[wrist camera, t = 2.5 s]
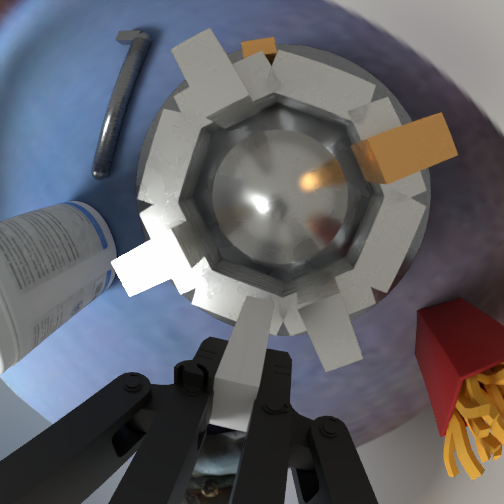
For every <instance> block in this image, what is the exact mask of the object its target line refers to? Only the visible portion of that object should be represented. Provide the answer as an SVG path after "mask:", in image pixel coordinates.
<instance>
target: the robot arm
mask: <svg viewBox="0 0 504 504" xmlns="http://www.w3.org/2000/svg"><path fill="white" fill-rule="evenodd" d="M274 302H275V301H271V300H266V299H261V298H257V297H252V296H246V299H245V301H244V304H243V306H242V309H241V311H240V314H239V317H238V319H237V322H236V324H235V327H234V329H233V332H232V334H231V337H230V340H229V341H227V340H223V339H218V338H214V337H209V338H207V339H206V340H204V341H203V342H202V343H201V345H200V347H199V349H198V351H197V353H196V355H195V356H194V358H193V360H186V361H182V362H180V363H178V364H177V365H176V366H175V367H174V384H170V385H157V384H151V383H150V381H149V379H148V378H147V377H145V376H144V375H142V374H140V373H134V372H129V373H124V374H122V375H120V376H118V377H117V378H116V379H114V380H113V381H112V382H110V383H109V384H108V385H106V386H105V387H104V388H102V389H101V390H100V391H98V392H97V393H95V394H94V395H93V396H91V397H90V398H89V399H87V400H86V401H85V402H83V403H82V404H80V405H79V406H78V407H76V408H75V409H74V410H72V411H71V412H69V413H68V414H67V415H65V416H64V417H62V418H61V419H60V420H58V421H57V422H56V423H54V424H53V425H51V426H50V427H49V428H47V429H46V430H44V431H43V432H42V433H40V434H39V435H37V436H36V437H35V438H33V439H32V440H30V441H29V442H27V443H26V444H24V445H23V446H22V447H20V448H19V449H17V450H16V451H14V452H13V453H11V454H10V455H9V456H7V457H6V458H4V459H3V460H1V461H0V504H81V503H82V502H83V501H84V500H85V499H87V498H88V497H89V496H90V495H91V494H92V493H93V492H94V491H95V490H96V489H98V488H99V486H101V485H102V484H103V483H104V482H105V481H106V480H107V479H108V478H109V477H110V476H111V475H112V474H113V473H114V472H116V471H117V470H118V469H119V468H120V467H121V466H122V465H123V464H124V463H125V462H126V461H127V460H128V459H129V458H130V457H131V456H132V455H133V454H134V453H135V452H136V451H137V452H136V454H135V456H134V458H133V459H132V461H131V463H130V465H129V467H128V469H127V471H126V472H125V474H124V476H123V478H122V480H121V481H120V483H119V485H118V487H117V489H116V491H115V492H114V494H113V496H112V498H111V500H110V502H109V503H108V504H181V503H182V500H183V497H184V495H185V492H186V489H187V486H188V484H189V481H190V478H191V475H192V473H193V470H194V467H195V464H196V462H197V459H198V456H199V453H200V450H201V448H202V445H203V442H204V439H205V436H206V432H207V426H208V423H209V420H210V424H214V425H217V426H222V427H226V428H230V429H234V430H239V431H244V432H246V436H245V439H244V443H243V446H242V450H241V456H240V460H239V464H238V468H237V472H236V476H235V481H234V485H233V489H232V493H231V496H230V500H229V504H284V500H285V491H286V481H287V471H288V465H290V466H291V471H292V475H293V480H294V484H295V488H296V493H297V497H298V501H299V504H378V502H377V499H376V497H375V494H374V492H373V489H372V487H371V484H370V482H369V480H368V477H367V475H366V472H365V470H364V467H363V465H362V462H361V460H360V458H359V455H358V453H357V450H356V448H355V446H354V443H353V441H352V438H351V436H350V434H349V431H348V429H347V427H346V426H345V424H344V423H343V422H342V421H341V420H339V419H338V418H335V417H332V416H322V417H318V418H317V419H315V420H311V419H309V418H306V417H304V416H302V415H300V414H298V413H297V412H296V411H295V410H294V409H293V408H292V406H291V404H290V389H291V371H292V370H291V369H292V359H291V357H290V356H289V354H288V352H283V351H278V350H272V349H267V343H268V337H269V331H270V325H271V320H272V314H273V308H274Z"/></svg>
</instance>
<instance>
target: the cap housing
mask: <svg viewBox="0 0 504 504" xmlns="http://www.w3.org/2000/svg"><path fill="white" fill-rule="evenodd" d="M241 44H242V50H239V51H236V52H232V53H230V54H227V55H228V57H229V58H230V60H231V62H232V63H233V64H234V63H236V62H238V61H240V60H242V59H244V58H246V57H249V56H251V55H253V54H255V53H258V52H260V51H262V52H263V53H264V55H265V57H266V58H267V60H268V61H269V63H270V65H271V66H272V64H273V62H274V59H275V57H276V55H277V52H278V50H281V51H285V52H289V53H292V54H295V55H299V56H302V57H305V58H308V59H311V60H314V61H317V62H320V63H323V64H326V65H328V66H331V67H334V68H336V69H339V70H342V71H344V72H347V73H349V74H352V75H354V76H356V77H359V78H361V79H363V80H365V81H368V82H370V83H372V84H374V85H376V86H375V90H374V93H373V96H372V99H371V102H374V101H377V100H380V99H383V98H386V97H388V98H389V100H390V102H391V104H392V106H393V108H394V110H395V112H396V114H397V116H398V118H399V120H400V123H401V125H405V124H408V123H411V122H412V120H411V118H410V116H409V115H408V113H407V112H406V110H405V109H404V108H403V106H402V105H401V103H400V102H399V101H398V99H397V98H396V97H395V96H394V95H393V94H392V93H391V92H390V91H389V89H388V88H387V87H386V86H385V85H384V84H382V83H381V82H380V81H379V80H378V79H376V78H375V77H374V76H373V75H372V74H370V73H369V72H367V71H366V70H364V69H363V68H361V67H360V66H358V65H356V64H355V63H353V62H351V61H349V60H347V59H345V58H342V57H340V56H338V55H336V54H333V53H330V52H327V51H324V50H320V49H316V48H313V47H306V46H299V45H289V44H275V40H274V37H271V38H264V39H257V40H251V41H245V42H241ZM188 87H190V86H189V84H188V83H187V81H186V80H185V81H184V82H182V83H181V84H180V85H179V86H178V87H177V88H176V89H175V91H174V92H173V93H172V94H171V95H170V96H169V97H168V98H167V100H166V101H165V103H164V104H163V105H162V107H161V108H160V110H159V111H158V112H157V114H156V116H155V118H154V120H153V122H152V124H151V126H150V127H149V129H148V132H147V135H146V137H145V140H144V143H143V146H142V149H141V153H140V158H139V162H138V168H137V179H136V196H137V198H138V194H139V190H140V186H141V182H142V178H143V174H144V171H145V167H146V163H147V160H148V156H149V153H150V149H151V146H152V143H153V139H154V136H155V133H156V130H157V127H158V124H159V121H160V118H161V115H162V112H163V109H167V110H172V111H177V112H181V111H180V109H179V107H178V105H177V103H176V101H175V99H174V97H173V96H175V95H177V94H178V93H180V92H182V91H183V90H185V89H187V88H188ZM371 102H370V103H371ZM351 145H352V144H351V141H350V139H349V137H348V135H347V133H346V131H345V129H344V128H343V127H340V126H338V125H335V124H333V123H331V122H328V121H326V120H323V119H320V118H318V117H315V116H312V115H310V114H307V113H304V112H301V111H299V110H296V109H293V108H290V107H287V106H284V105H281V104H278V103H275V104H273V105H271V106H269V107H267V108H264V109H262V110H260V111H259V113H257V114H255V115H252V116H250V117H248V118H246V119H244V120H242V121H240V122H238V123H236V124H234V125H232V126H230V127H228V128H226V129H224V128H223V129H222V130H220V131H218V132H216V133H214V134H213V137H212V140H211V143H210V146H209V149H208V152H207V155H206V158H205V161H204V164H203V167H202V170H201V173H200V176H199V179H198V183H197V186H196V189H195V192H194V196H193V200H194V202H195V204H196V206H197V208H198V210H199V212H200V214H201V216H202V218H203V220H204V222H205V224H206V226H207V228H208V230H209V232H210V234H211V236H212V238H213V240H214V242H215V244H216V246H217V248H218V250H219V252H220V254H221V256H222V258H225V259H228V260H230V261H233V262H235V263H238V264H241V265H243V266H246V267H249V268H251V269H254V270H256V271H259V272H262V273H264V274H267V275H270V276H272V277H275V278H278V279H280V280H283V281H286V280H288V279H291V278H294V277H296V276H299V275H301V274H303V273H306V272H308V271H311V270H313V269H316V268H318V267H321V266H323V265H326V264H328V263H330V262H333V261H335V260H338V259H340V258H342V257H345V256H346V255H347V253H348V250H349V248H350V246H351V244H352V241H353V239H354V237H355V234H356V232H357V230H358V227H359V225H360V223H361V220H362V218H363V215H364V213H365V210H366V208H367V205H368V203H369V200H370V198H371V195H372V191H371V188H370V186H369V183H368V182H367V181H365V178H364V176H363V173H362V171H361V169H360V166H359V164H358V162H357V159H356V157H355V155H354V153H353V150H352V148H351ZM420 172H421V175H422V178H423V181H424V184H425V187H426V190H427V191H424V192H422V193H420V194H417V195H415V196H413V197H411V198H412V199H414V200H415V201H417V202H419V203H421V204H423V205H425V206H426V208H425V211H424V213H423V216H422V218H421V221H420V223H419V226H418V228H417V231H416V233H415V235H414V238H413V240H412V242H411V245H410V247H409V249H408V251H407V253H406V256H405V258H404V260H403V262H402V264H401V266H400V268H399V270H398V272H397V274H396V276H395V278H394V280H393V282H392V284H391V286H390V288H389V290H388V292H387V293H385V292H382V291H380V290H377V289H375V288H372V287H371V289H372V293H373V296H374V299H375V302H376V304H377V303H379V302H380V301H381V300H382V299H383V298H385V297H386V296H387V295H388V294H389V293H390V291H391V290H392V289H393V288H394V287H395V286H396V285H397V284H398V283H399V281H400V280H401V279H402V277H403V276H404V275H405V273H406V272H407V270H408V269H409V267H410V266H411V264H412V262H413V260H414V258H415V256H416V254H417V252H418V250H419V248H420V245H421V242H422V240H423V237H424V234H425V231H426V226H427V222H428V217H429V211H430V199H431V187H430V173H429V168H426V169H423V170H421V171H420ZM152 205H153V204H150V203H147V202H145V201H142V200H139V199H137V207H138V213H141V212H142V211H144V210H146V209H147V208H149V207H151V206H152ZM139 219H140V223H141V226H142V230H143V233H144V236H145V239H146V242H147V241H149V240H151V237H150V235H149V233H148V231H147V229H146V227H145V225H144V223H143V221H142V219H141V217H140V215H139ZM169 280H170V282H171V283H172V284H173V285H174V286H175V287H176V288H177V286H176V285H175V283H174V281H173V279H172V278H170V279H169ZM177 289H178V288H177ZM195 291H196V288H195V289H192V290H190V291H187V292H185V293H182V294H183V295H184V296H185V297H186V298H187V299H188V300H189V301H191V302H192V301H193V298H194V294H195ZM376 304H373V305H371V306H369V307H366V308H364V309H361V310H359V311H357V312H354V313H352V314H349V317H350V319H351V320H353V319H355V318H357V317H358V316H360V315H362V314H363V313H365V312H366V311H368V310H370V309H371V308H372V307H374V306H375V305H376ZM197 307H198V306H197ZM198 308H199V309H201V310H203V311H204V312H206V313H207V314H209V315H211V316H212V317H214V318H216V319H218V320H220V321H222V322H225V323H227V324H229V325H231V326H234V327H235V324H236V321H234V320H231V319H228V318H226V317H223V316H221V315H218V314H216V313H213V312H211V311H208V310H206V309H203V308H201V307H198ZM305 334H308V332H307V331H304V332H301V333H298V334H295V335H305ZM269 335H272V334H269ZM277 335H280V336H290V334H289V332H288V330H287V328H286V326H285V324H284V322H282V324H281V327H280V329H279V331H278V333H277Z"/></svg>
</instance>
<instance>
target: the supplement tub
mask: <svg viewBox="0 0 504 504" xmlns="http://www.w3.org/2000/svg"><path fill="white" fill-rule="evenodd" d="M116 259H117V253H116V247H115V243H114V239H113V237H112V234H111V232H110V230H109V227H108V225H107V224H106V222H105V220H104V219H103V218H102V216H101V215H100V214H99V213H98V212H97V211H96V210H95V209H94V208H92V207H91V206H89V205H87V204H85V203H83V202H79V201H69V202H65V203H60V204H56V205H53V206H49V207H45V208H42V209H38V210H34V211H31V212H28V213H24V214H21V215H18V216H15V217H12V218H8V219H5V220H2V221H0V374H2V373H3V372H4V371H6V370H7V369H8V368H9V367H11V366H14V365H15V364H16V363H17V362H19V361H20V360H21V359H22V358H23V357H25V356H26V355H27V354H28V353H30V352H31V351H32V350H33V349H34V348H35V347H36V346H38V345H39V344H40V343H41V342H42V341H44V340H45V339H46V338H47V337H48V336H50V335H51V334H52V333H53V332H54V331H56V330H57V329H58V328H59V327H60V326H62V325H63V324H64V323H65V322H67V321H68V320H69V319H70V318H72V317H73V316H74V315H75V314H77V313H78V312H79V311H80V310H82V309H83V308H84V307H86V306H87V305H88V304H89V303H91V302H92V301H93V300H94V299H96V298H97V297H98V296H100V295H101V294H102V293H104V292H105V291H106V290H107V289H108V288H109V286H110V285H111V283H112V281H113V279H114V277H115V273H116V271H115V269H114V267H113V265H112V263H111V262H112V261H114V260H116Z"/></svg>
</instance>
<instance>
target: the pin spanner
mask: <svg viewBox="0 0 504 504" xmlns="http://www.w3.org/2000/svg"><path fill="white" fill-rule="evenodd" d="M115 41H117V42H119V43H121V44H131V46H130V48H129V50H128V53H127V55H126V58H125V60H124V63H123V65H122V68H121V70H120V73H119V76H118V78H117V81H116V84H115V87H114V89H113V92H112V95H111V98H110V102H109V105H108V108H107V111H106V114H105V118H104V121H103V125H102V129H101V132H100V136H99V140H98V144H97V148H96V152H95V157H94V161H93V166H92V176H93V177H94V178H95V179H96V180H103V179H105V178H106V177H107V176H108V174H109V169H110V165H111V161H112V156H113V152H114V148H115V144H116V141H117V137H118V133H119V130H120V126H121V123H122V119H123V116H124V113H125V109H126V106H127V103H128V100H129V97H130V94H131V91H132V89H133V86H134V83H135V80H136V78H137V75H138V72H139V70H140V67H141V65H142V62H143V60H144V57H145V55H146V52H147V50H148V48H149V45H150V43H151V36H150V34H148V33H146V32H142V31H141V30H136V31H119V33H118V35H117V38H116V40H115Z"/></svg>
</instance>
